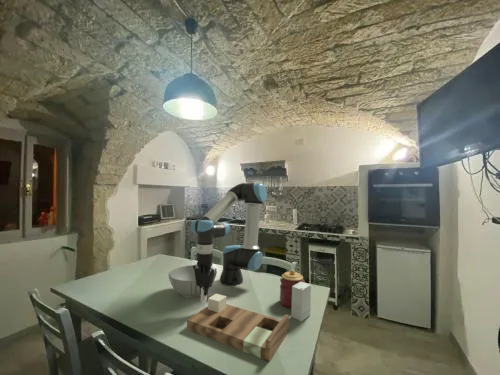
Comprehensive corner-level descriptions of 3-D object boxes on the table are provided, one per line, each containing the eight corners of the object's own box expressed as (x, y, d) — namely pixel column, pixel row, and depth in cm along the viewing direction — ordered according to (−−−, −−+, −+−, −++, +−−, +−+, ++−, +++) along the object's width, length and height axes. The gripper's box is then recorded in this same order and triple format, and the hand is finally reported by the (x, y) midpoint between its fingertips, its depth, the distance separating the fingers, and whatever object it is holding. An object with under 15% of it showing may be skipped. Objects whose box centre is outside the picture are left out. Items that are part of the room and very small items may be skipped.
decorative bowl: (205, 307, 118) (206, 283, 118) (157, 301, 123) (158, 278, 124) (222, 286, 144) (222, 266, 144) (182, 282, 150) (182, 263, 150)
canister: (285, 310, 116) (286, 274, 117) (276, 298, 129) (276, 266, 129) (309, 307, 120) (309, 272, 120) (297, 296, 132) (297, 265, 133)
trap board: (186, 329, 99) (187, 312, 99) (215, 309, 116) (215, 294, 116) (269, 361, 81) (269, 341, 81) (288, 331, 98) (288, 315, 98)
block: (207, 309, 108) (208, 298, 108) (215, 303, 113) (216, 293, 113) (218, 312, 105) (218, 301, 105) (226, 307, 110) (226, 296, 110)
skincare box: (300, 311, 116) (300, 280, 116) (311, 315, 112) (311, 284, 112) (290, 317, 110) (291, 285, 110) (301, 322, 106) (302, 289, 106)
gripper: (189, 252, 113) (187, 301, 113) (210, 256, 107) (209, 308, 107) (199, 249, 120) (198, 295, 119) (220, 252, 114) (219, 301, 113)
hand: (203, 301), depth 113 cm, fingers closed
